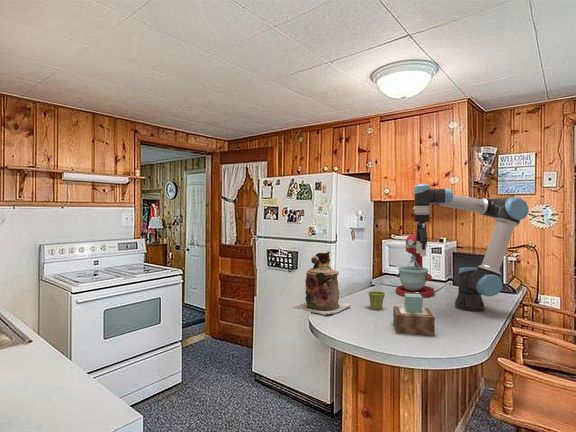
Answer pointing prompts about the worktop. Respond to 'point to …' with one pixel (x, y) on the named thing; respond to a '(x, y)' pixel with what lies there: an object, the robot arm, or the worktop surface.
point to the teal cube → (413, 303)
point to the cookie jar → (322, 288)
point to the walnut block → (413, 321)
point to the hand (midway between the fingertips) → (421, 254)
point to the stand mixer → (414, 273)
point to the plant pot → (376, 299)
